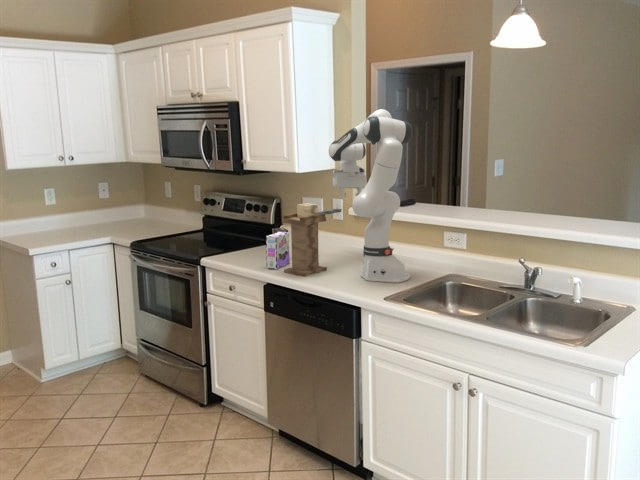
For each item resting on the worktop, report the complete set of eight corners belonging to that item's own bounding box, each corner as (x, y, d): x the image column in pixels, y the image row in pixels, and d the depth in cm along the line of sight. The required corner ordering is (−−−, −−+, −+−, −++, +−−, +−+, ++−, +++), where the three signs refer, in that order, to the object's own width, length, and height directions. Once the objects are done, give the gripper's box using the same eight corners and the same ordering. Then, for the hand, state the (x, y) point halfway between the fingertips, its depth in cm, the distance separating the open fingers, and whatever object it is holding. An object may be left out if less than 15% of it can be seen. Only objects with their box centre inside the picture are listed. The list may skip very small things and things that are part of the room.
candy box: (276, 269, 287) (275, 236, 284) (266, 268, 289) (265, 235, 286) (290, 263, 299) (289, 231, 296) (279, 262, 302) (278, 231, 299)
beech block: (333, 210, 299) (333, 199, 298) (345, 212, 294) (345, 200, 293) (297, 217, 281) (297, 204, 279) (309, 218, 275) (309, 205, 274)
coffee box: (289, 260, 307) (288, 230, 304) (277, 261, 305) (276, 230, 302) (284, 256, 316) (283, 227, 313) (272, 257, 313) (271, 228, 310)
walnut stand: (307, 266, 293) (306, 211, 288) (326, 270, 285) (325, 213, 279) (284, 272, 282) (282, 215, 276) (303, 276, 273) (302, 217, 268)
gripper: (336, 168, 295) (338, 195, 295) (367, 169, 307) (369, 196, 306) (328, 170, 301) (331, 197, 300) (360, 172, 312) (362, 197, 312)
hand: (350, 196), depth 303 cm, fingers open, 8 cm apart
